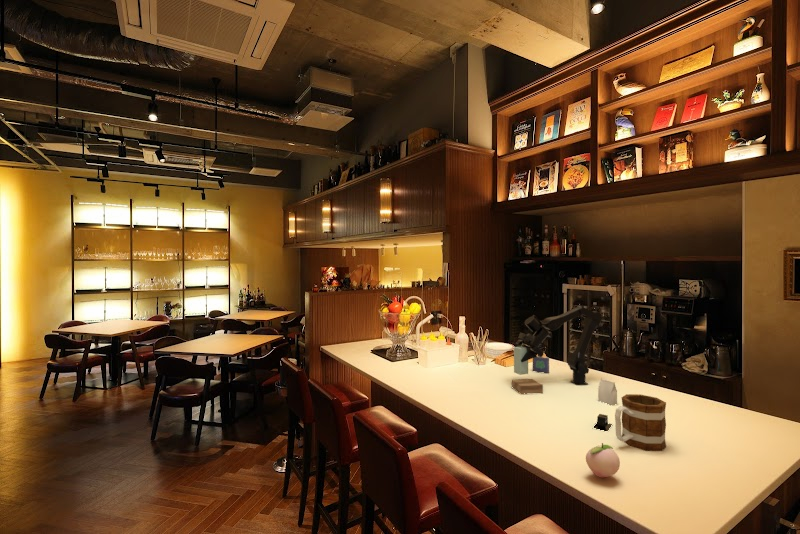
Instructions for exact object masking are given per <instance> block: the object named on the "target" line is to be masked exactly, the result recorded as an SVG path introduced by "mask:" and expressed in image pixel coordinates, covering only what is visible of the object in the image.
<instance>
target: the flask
mask: <svg viewBox="0 0 800 534" xmlns="http://www.w3.org/2000/svg"><path fill="white" fill-rule="evenodd" d="M536 356H537V357H535V358H532V372H533V371H537V372H536V373H539V372H544V373H543V374H549V373H550V357H548V356H542V357H539V356H538V354H537V355H536Z"/></svg>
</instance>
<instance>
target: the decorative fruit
mask: <svg viewBox="0 0 800 534" xmlns="http://www.w3.org/2000/svg"><path fill="white" fill-rule="evenodd" d="M613 449H614V448H613V446H611V445H609V444H604V443H603V442H602V443H601V445H596V446H594V447H592V448H590V449H589V450H588V451H587V453H586V455H585V462H586V464H587V466H588V469H590V471H591V472H592V473H594V474H595V475H596V476H597V477H600V478H603V479H604V478H608V477H610V476H613V475H615V474H616V473H618V471H619V469H620V466H621V465H620V463H621V462H620V458H619V455H618V453H616V451H615V450H613Z"/></svg>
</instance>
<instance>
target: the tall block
mask: <svg viewBox="0 0 800 534" xmlns="http://www.w3.org/2000/svg"><path fill="white" fill-rule="evenodd" d="M526 352H527V348H526V347H522V346H521V347H518V346H513V373H515V374H517V375H529V360H527V361H524V362H521V359H522V358H523V357H524V355H525V354H526Z"/></svg>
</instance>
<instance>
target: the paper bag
mask: <svg viewBox="0 0 800 534" xmlns="http://www.w3.org/2000/svg"><path fill="white" fill-rule="evenodd" d="M597 389H598V391H597V393H598V394H597V399H598V400H597V401H598V402H600V401H601V402H600V403H602V402H604V404H605V403H607V404H606V405H608V404H609V406H611V405H612V406H616V405H615V404H617V405H618V389H617V387H616V382H614V381H611V380H607V379H605V378H604V379H603V378H601V379H600V382H599V385H598V388H597Z"/></svg>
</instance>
